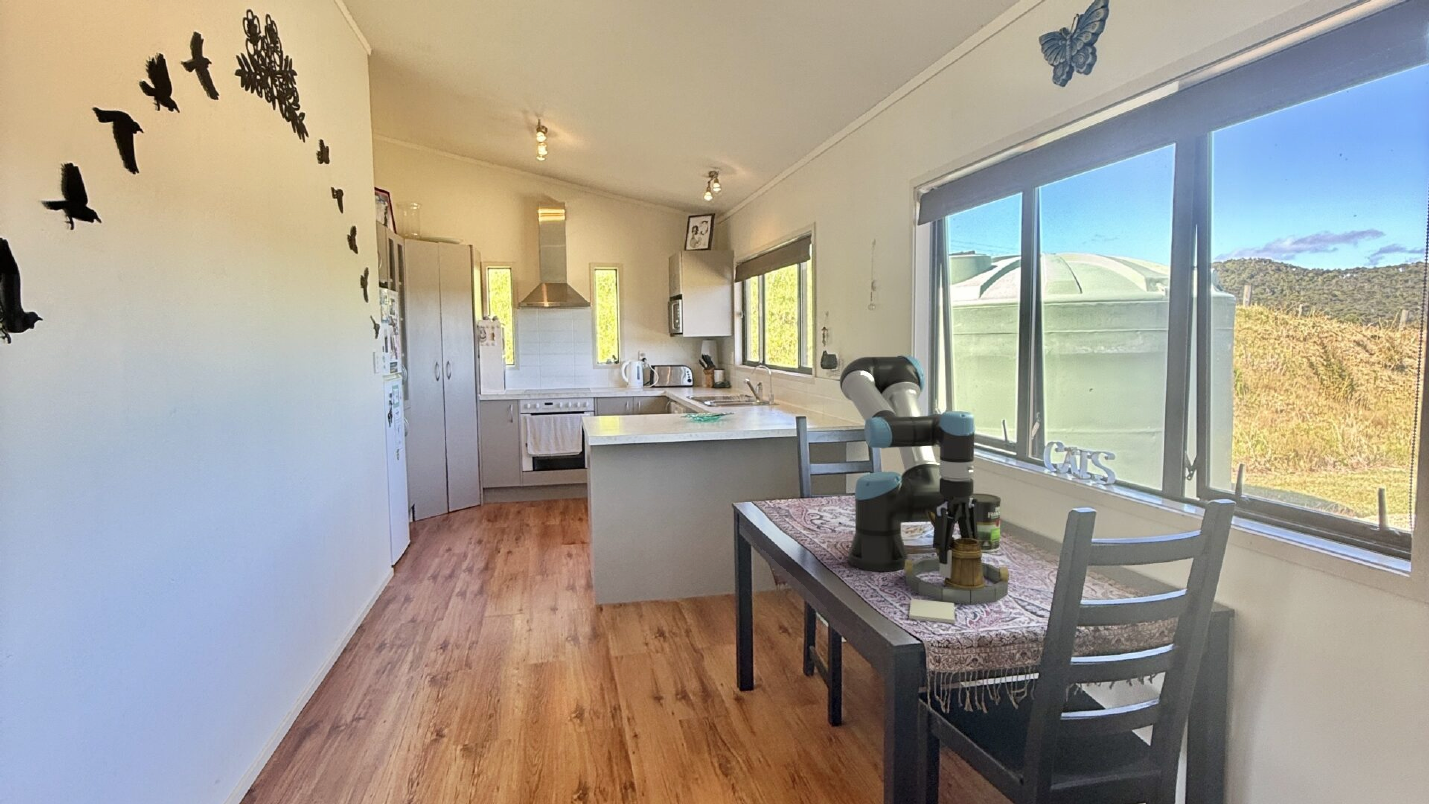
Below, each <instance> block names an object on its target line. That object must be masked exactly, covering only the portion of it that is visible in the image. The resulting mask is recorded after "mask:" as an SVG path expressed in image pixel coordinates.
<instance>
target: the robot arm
mask: <svg viewBox="0 0 1429 804" xmlns="http://www.w3.org/2000/svg"><path fill="white" fill-rule="evenodd" d="M924 375H925V374H924V370H923V367H922V365H921V363H920V361H919V360H918V359H917V358H915V357H914V356H908V355H907V356H906V355H897V356H864V357H859V358H857V359H855V360H854V359H853V361H851V362H849V364H847V365H846V366H845V368H844V369H843V370H842V372H841V374H840V377H839V387H840V390H841V392H842V394H843V395H844V396H845V398H846V399H847V400H849V401H851V402H852V403H853V404H854V406H855V408H856V409H857V411H858V412H859V414H860V415H861V417H862V419H863V421H864V422H865V423H864V428H863V429H864V430H863V432H864V433H863V434H864V438H865V443H866V444H867V446H868V447H869V448H873V449H877V448H878V449H889V448H899V453H900V457H901V460H902V465H903V469H904V471H903V472H902V474H901V473H900V472H897V471H877V472H876V471H875V472H871V473H870V472H869V473H867V474H864V475H862V476H860V477H858V479H857V480H856V481H855V491H854V499H855V503H854V506H855V507H854V508H855V509H854V510H855V512H854V514H855V517H854V518H855V520H854V521H855V522H854V523H855V532H854V536H853V539H852V542H851V545H850V548H849V550H848V562H849V564H851V565H853V566H854V567H856V568H859V569H862V570H866V571H874V572H893V571H898V570H902V569H905V560H906V559H909V555H908V551H907V548H906V545H905V543H904V539H903V536H902V524H903V523H931V522H930V520H929V518H928V516H927V513H926V510H929V511H931V512H932V513H934V514H935V523H934V527H933V536H932V537H933V538H932V548H934V549H935V548H937V549H939V562H940V570H939V577H944V578H945V577H946V578H951V572H952V551H951V550H949V549H950V544H951V540H952V537H953V535H954V530H955V525H956V523H957V525H958V529H959V534H960V538H970V539H977V538H978V529H977V510H976V508H977V499H973V498H969V496H972V495H973V493H974V486H975V485H974V483H975V481H974V480H973V477H974V469H975V468H974V464H975V463H974V459H975V455H974V454H975V431H976V426H975V416H974V414H973V413H972V412H969V411H961V410H960V411H959V410H957V411H956V410H954V411H953V410H949V411H943V412H942V413H941V414H940V413H937V414H936V413H931V414H927V415H923V413H922V412H923V411H922V409H921V407H920V403H919V398H920V397H921V393H922V392H923V391H924V387H925V378H924V377H925V376H924ZM933 447H939V463H938V462H937V460H936V456H935V453H934V449H933ZM972 532H973V533H972Z"/></svg>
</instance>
